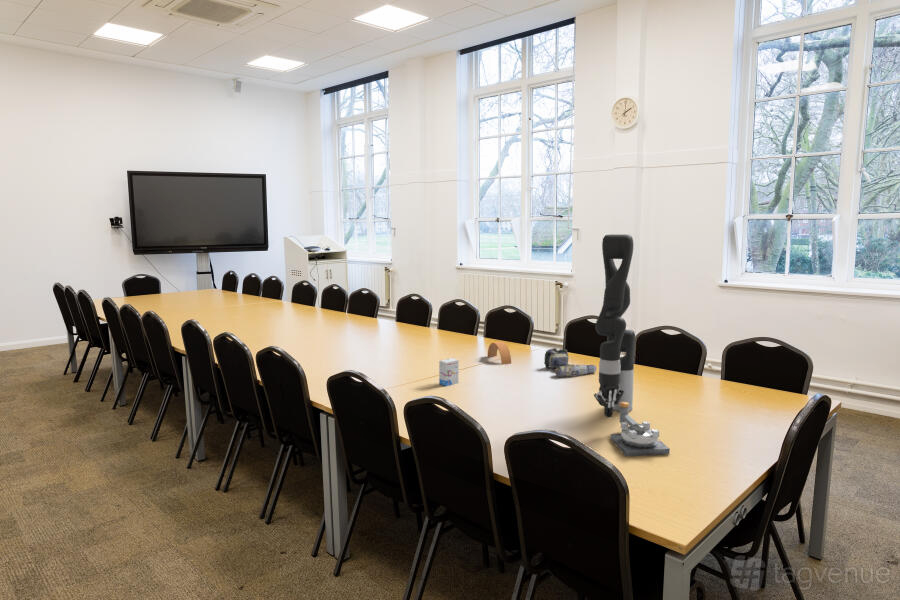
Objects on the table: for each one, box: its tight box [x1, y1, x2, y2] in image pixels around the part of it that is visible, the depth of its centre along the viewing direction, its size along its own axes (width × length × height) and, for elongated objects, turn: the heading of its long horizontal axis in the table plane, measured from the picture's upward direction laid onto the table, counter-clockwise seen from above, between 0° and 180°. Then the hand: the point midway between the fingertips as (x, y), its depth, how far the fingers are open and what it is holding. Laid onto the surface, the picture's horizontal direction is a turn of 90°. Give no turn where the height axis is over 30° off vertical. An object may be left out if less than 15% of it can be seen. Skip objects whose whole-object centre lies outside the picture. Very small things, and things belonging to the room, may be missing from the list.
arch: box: [487, 341, 512, 365], centre depth 325 cm, size 6×20×10 cm, turn 19°
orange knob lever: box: [619, 402, 660, 447], centre depth 205 cm, size 23×12×8 cm, turn 4°
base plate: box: [610, 433, 671, 457], centre depth 201 cm, size 15×15×2 cm
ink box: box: [438, 357, 460, 387], centre depth 280 cm, size 9×5×12 cm, turn 131°
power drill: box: [543, 347, 597, 378], centre depth 299 cm, size 22×23×11 cm
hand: (608, 416), depth 213 cm, fingers closed
